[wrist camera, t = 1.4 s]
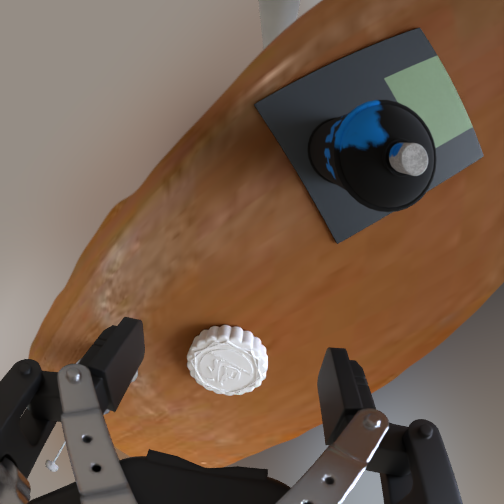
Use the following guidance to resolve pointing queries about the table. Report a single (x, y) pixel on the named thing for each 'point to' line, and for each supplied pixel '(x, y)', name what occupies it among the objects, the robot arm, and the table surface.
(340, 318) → the table surface
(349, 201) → the board
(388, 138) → the aerosol can
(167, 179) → the table surface
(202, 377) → the mooncake
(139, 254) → the table surface
